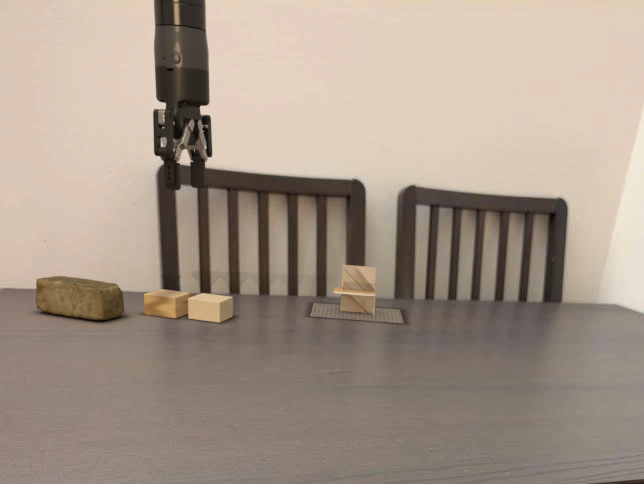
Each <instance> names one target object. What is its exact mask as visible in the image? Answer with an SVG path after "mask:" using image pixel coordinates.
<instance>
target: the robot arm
mask: <svg viewBox="0 0 644 484" xmlns="http://www.w3.org/2000/svg"><path fill="white" fill-rule="evenodd" d="M153 15H154V16H153V17H154V38H153V56H154V57H153V58H154V77H155V97H156V100H157V101H158V102H159V103H163V104H165V109H164V108H154V109H153V111H152V119H153V120H152V122H153V124H152V125H153V127H152V128H153V154H154V156H156V157H159V158H160V160H161V161H162V162H163V176H164V188H165V189H166V190H167V191H180V190H181V188H182V183H181V182H182V180H181V179H182V177H181V163H180V161H181V160H180V159H181V156H182V152H183V151H184V150H186V151H187V155H188V157H189V159H190V162H189V169H190V171H189V172H190V173H189V174H190V186H191V187H192V188H194V189H204V188H206V186H207V183H206V179H207V178H206V177H207V176H206V175H207V174H206V163H207V162H208V160H209V159H208V158H212V157H213V137H212V133H213V132H212V118H211V115H210V114H202V113H201V107H206V106H209V104H210V102H211V101H210V55H209V53H210V51H209V44H208V35H207V3H206V0H153Z"/></svg>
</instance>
